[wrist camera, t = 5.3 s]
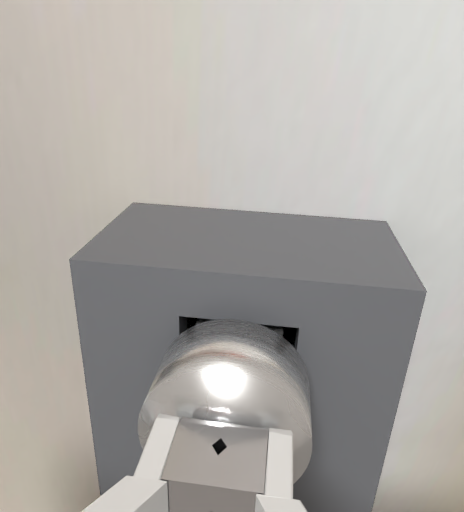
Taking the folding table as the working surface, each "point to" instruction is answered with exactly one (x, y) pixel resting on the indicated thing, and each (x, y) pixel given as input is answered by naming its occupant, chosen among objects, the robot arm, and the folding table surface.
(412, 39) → the folding table surface
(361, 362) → the control panel
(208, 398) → the knob
